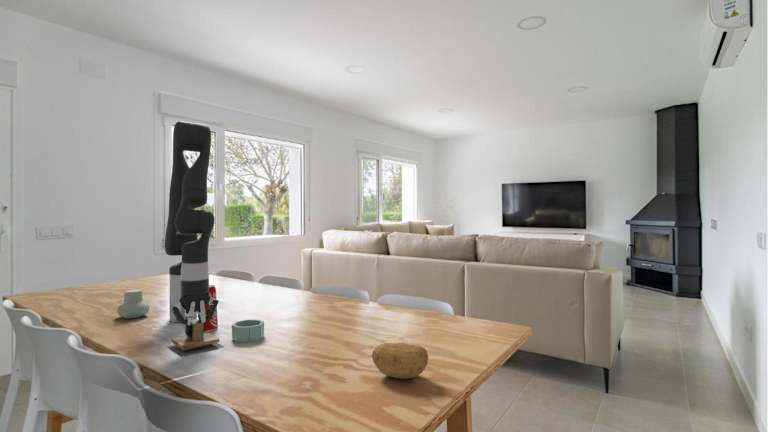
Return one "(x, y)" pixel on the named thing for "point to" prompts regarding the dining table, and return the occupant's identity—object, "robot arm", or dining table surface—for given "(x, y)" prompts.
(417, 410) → the dining table surface
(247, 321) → the bowl
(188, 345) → the lid
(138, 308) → the air freshener
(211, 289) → the beverage can
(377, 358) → the potato
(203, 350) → the mat
